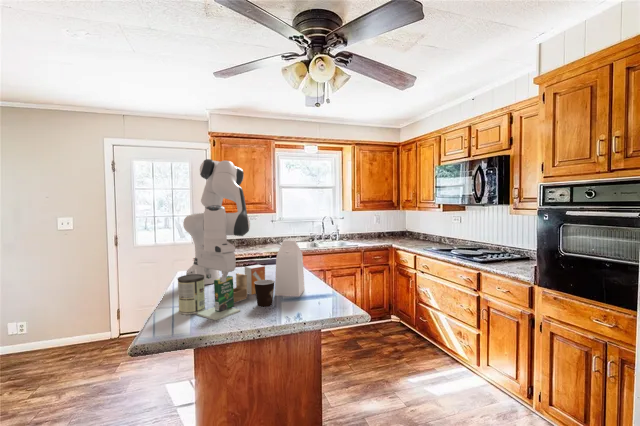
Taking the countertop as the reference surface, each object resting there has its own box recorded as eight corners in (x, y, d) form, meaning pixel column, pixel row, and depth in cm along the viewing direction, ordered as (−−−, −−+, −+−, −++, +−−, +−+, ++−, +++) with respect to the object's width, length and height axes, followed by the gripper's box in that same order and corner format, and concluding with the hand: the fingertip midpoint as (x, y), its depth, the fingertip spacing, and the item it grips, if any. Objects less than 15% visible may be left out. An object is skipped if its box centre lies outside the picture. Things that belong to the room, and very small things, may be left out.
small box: (251, 295, 152) (251, 268, 152) (244, 292, 157) (244, 266, 156) (265, 291, 158) (265, 265, 157) (258, 289, 162) (258, 264, 162)
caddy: (217, 302, 141) (217, 278, 141) (238, 296, 151) (237, 273, 151) (227, 305, 138) (226, 280, 137) (247, 298, 147) (246, 274, 147)
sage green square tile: (196, 314, 127) (196, 313, 127) (221, 306, 137) (221, 304, 137) (215, 320, 120) (215, 319, 120) (240, 311, 130) (240, 309, 130)
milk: (304, 289, 161) (303, 238, 160) (299, 296, 149) (298, 241, 149) (281, 288, 163) (281, 238, 162) (274, 295, 152) (273, 241, 151)
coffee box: (218, 312, 127) (218, 280, 126) (214, 311, 128) (213, 279, 128) (234, 307, 133) (233, 276, 133) (229, 305, 135) (229, 275, 135)
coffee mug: (262, 309, 132) (262, 285, 131) (250, 305, 137) (250, 282, 137) (284, 302, 140) (283, 280, 140) (271, 298, 146) (271, 277, 146)
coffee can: (182, 307, 136) (181, 274, 135) (207, 305, 138) (206, 273, 137) (175, 315, 126) (174, 280, 125) (202, 313, 128) (201, 279, 127)
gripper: (193, 244, 131) (193, 277, 131) (225, 249, 119) (225, 285, 119) (206, 242, 136) (206, 274, 136) (238, 247, 124) (238, 282, 125)
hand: (215, 280), depth 128 cm, fingers open, 8 cm apart
